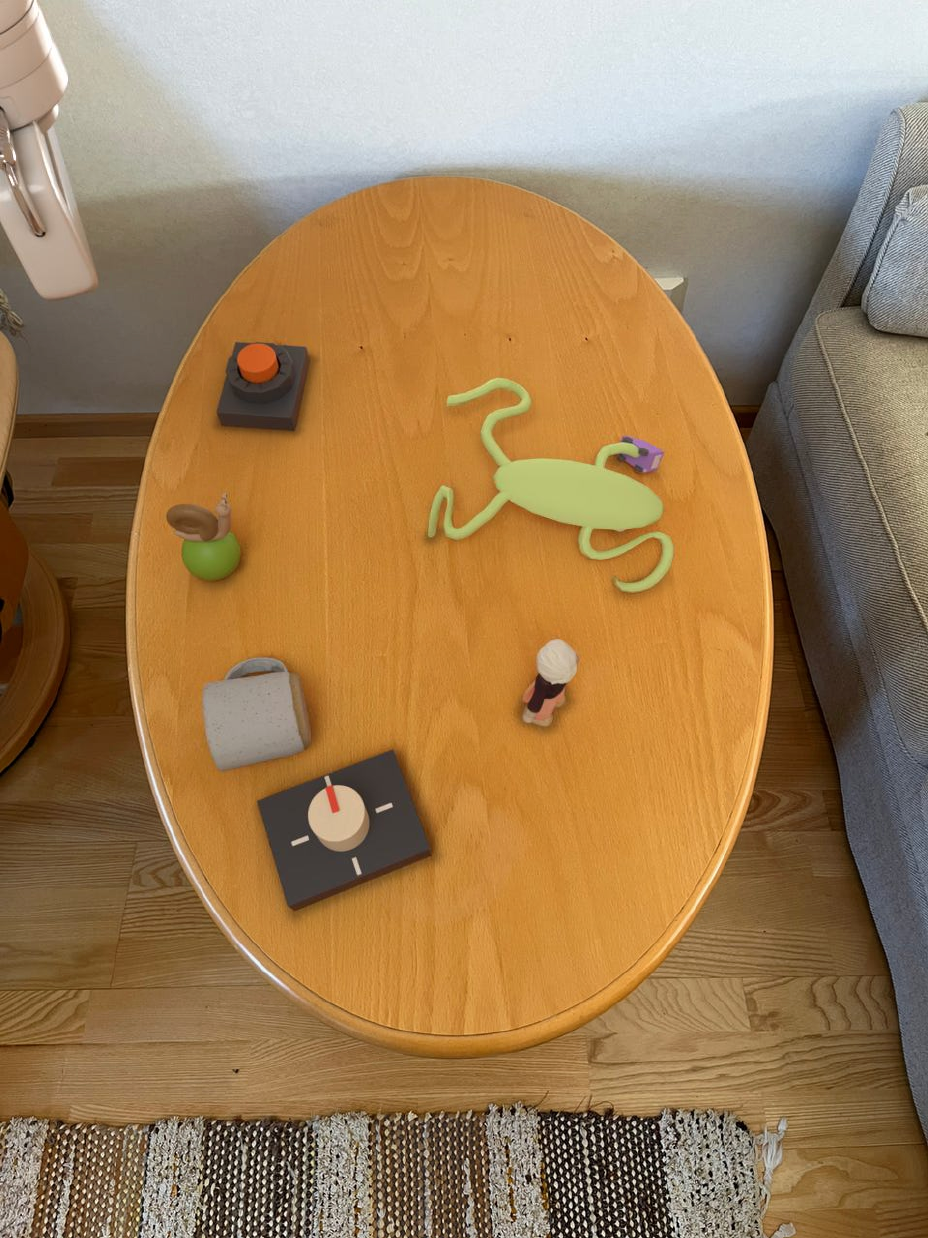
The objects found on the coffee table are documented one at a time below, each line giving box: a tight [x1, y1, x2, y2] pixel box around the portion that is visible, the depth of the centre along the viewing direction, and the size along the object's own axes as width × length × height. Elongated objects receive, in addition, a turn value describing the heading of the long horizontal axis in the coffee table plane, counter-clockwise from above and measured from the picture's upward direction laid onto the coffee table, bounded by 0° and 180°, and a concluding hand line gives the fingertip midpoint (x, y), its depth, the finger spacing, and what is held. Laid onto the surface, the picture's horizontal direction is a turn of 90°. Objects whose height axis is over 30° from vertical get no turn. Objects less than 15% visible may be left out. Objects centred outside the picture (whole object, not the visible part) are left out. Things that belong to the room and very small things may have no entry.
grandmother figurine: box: [521, 638, 580, 728], centre depth 71 cm, size 8×4×13 cm, turn 155°
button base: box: [216, 341, 310, 432], centre depth 91 cm, size 10×8×4 cm
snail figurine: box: [165, 492, 242, 582], centre depth 77 cm, size 5×6×12 cm
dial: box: [308, 785, 369, 852], centre depth 67 cm, size 4×4×4 cm
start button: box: [237, 344, 278, 384], centre depth 88 cm, size 4×4×2 cm
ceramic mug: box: [201, 656, 312, 772], centre depth 72 cm, size 11×8×8 cm
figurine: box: [427, 377, 675, 594], centre depth 84 cm, size 18×27×6 cm
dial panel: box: [256, 749, 432, 912], centre depth 70 cm, size 12×9×3 cm
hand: (76, 259), depth 60 cm, fingers closed
